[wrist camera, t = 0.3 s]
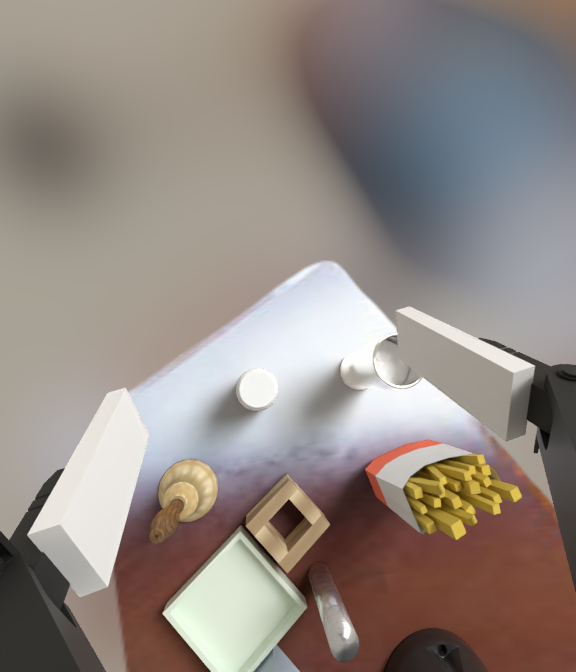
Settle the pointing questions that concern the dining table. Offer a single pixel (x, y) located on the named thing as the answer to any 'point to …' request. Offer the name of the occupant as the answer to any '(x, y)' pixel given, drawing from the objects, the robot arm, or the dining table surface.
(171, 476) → the hand bell
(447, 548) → the dining table surface
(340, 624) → the cylinder
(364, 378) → the beer glass
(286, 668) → the slate-blue block
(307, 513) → the oak block
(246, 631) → the tray
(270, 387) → the pill bottle
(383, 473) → the french fries container
